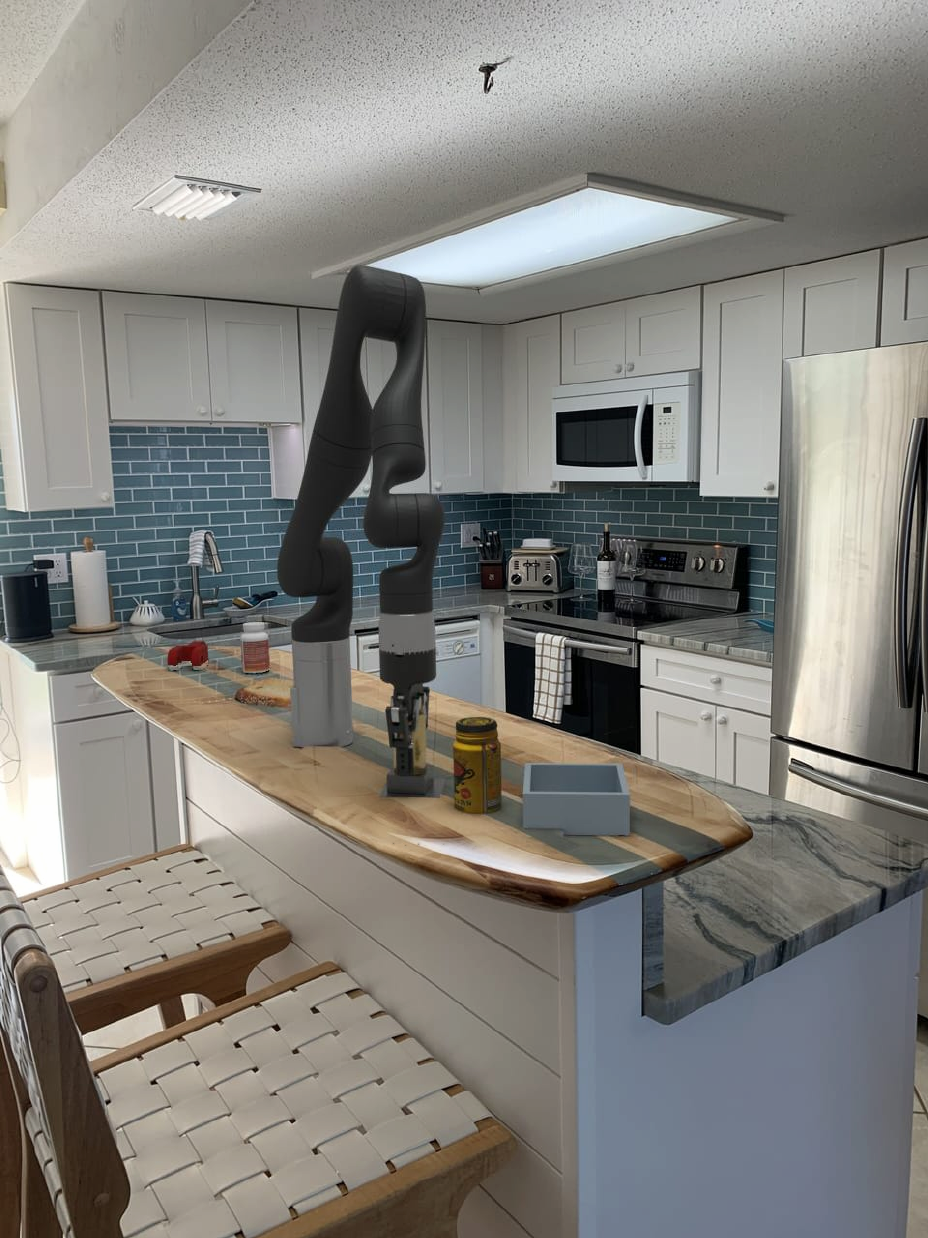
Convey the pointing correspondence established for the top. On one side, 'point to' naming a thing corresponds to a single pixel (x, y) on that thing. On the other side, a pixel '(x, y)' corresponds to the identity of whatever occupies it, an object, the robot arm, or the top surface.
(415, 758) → the gold cylindrical piece
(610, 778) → the bin
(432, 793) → the stud plate
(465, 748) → the condiment
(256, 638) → the pill bottle
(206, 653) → the red arch block
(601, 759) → the top surface
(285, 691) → the bread slice
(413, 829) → the top surface
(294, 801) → the top surface
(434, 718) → the top surface
